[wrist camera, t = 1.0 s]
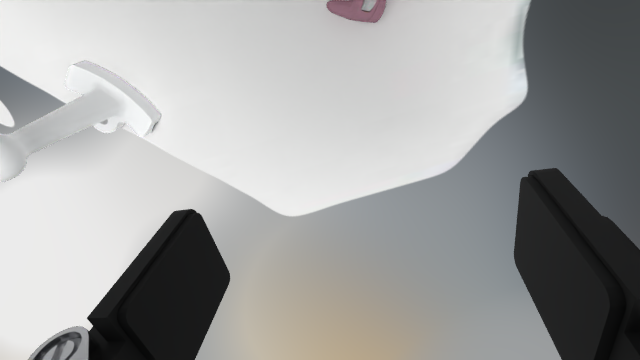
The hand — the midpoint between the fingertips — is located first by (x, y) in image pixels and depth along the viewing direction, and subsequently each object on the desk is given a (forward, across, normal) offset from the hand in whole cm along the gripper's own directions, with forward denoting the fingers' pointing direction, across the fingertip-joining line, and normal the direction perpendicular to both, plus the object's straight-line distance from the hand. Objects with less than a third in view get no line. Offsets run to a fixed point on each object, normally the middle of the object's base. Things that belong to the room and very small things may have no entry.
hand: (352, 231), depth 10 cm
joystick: (+33, +34, +2) cm, 47 cm away
